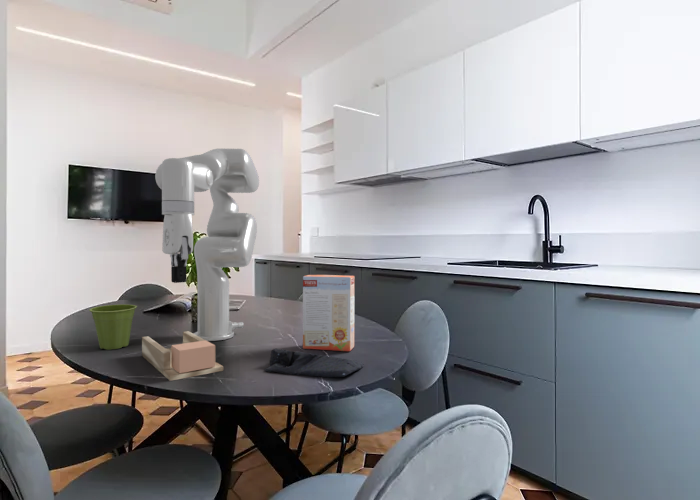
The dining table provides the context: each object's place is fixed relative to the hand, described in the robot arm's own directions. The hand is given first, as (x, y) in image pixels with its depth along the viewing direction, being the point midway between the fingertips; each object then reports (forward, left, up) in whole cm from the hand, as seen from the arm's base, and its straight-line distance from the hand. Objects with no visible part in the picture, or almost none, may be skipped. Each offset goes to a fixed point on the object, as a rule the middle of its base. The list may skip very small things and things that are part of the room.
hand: (179, 282), depth 107 cm
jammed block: (0, +11, -19) cm, 22 cm away
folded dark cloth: (-24, +25, -21) cm, 41 cm away
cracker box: (-38, +12, -20) cm, 45 cm away
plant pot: (+10, -26, -20) cm, 34 cm away
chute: (0, +1, -20) cm, 20 cm away
